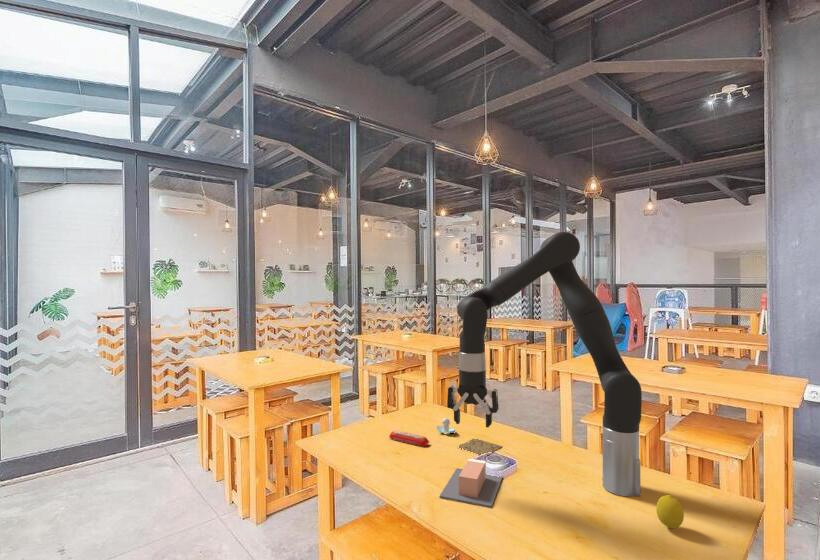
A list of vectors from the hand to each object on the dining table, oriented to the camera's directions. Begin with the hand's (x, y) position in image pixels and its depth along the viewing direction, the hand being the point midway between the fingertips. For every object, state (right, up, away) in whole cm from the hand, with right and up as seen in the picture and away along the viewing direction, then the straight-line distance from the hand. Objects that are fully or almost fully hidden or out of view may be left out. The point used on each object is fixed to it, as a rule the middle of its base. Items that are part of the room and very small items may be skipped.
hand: (472, 424), depth 121 cm
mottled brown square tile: (+7, -18, +29) cm, 35 cm away
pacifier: (-4, -18, +42) cm, 46 cm away
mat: (0, -18, 0) cm, 18 cm away
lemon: (+44, -18, -20) cm, 51 cm away
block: (-2, -15, -6) cm, 16 cm away
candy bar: (-18, -18, +34) cm, 42 cm away
